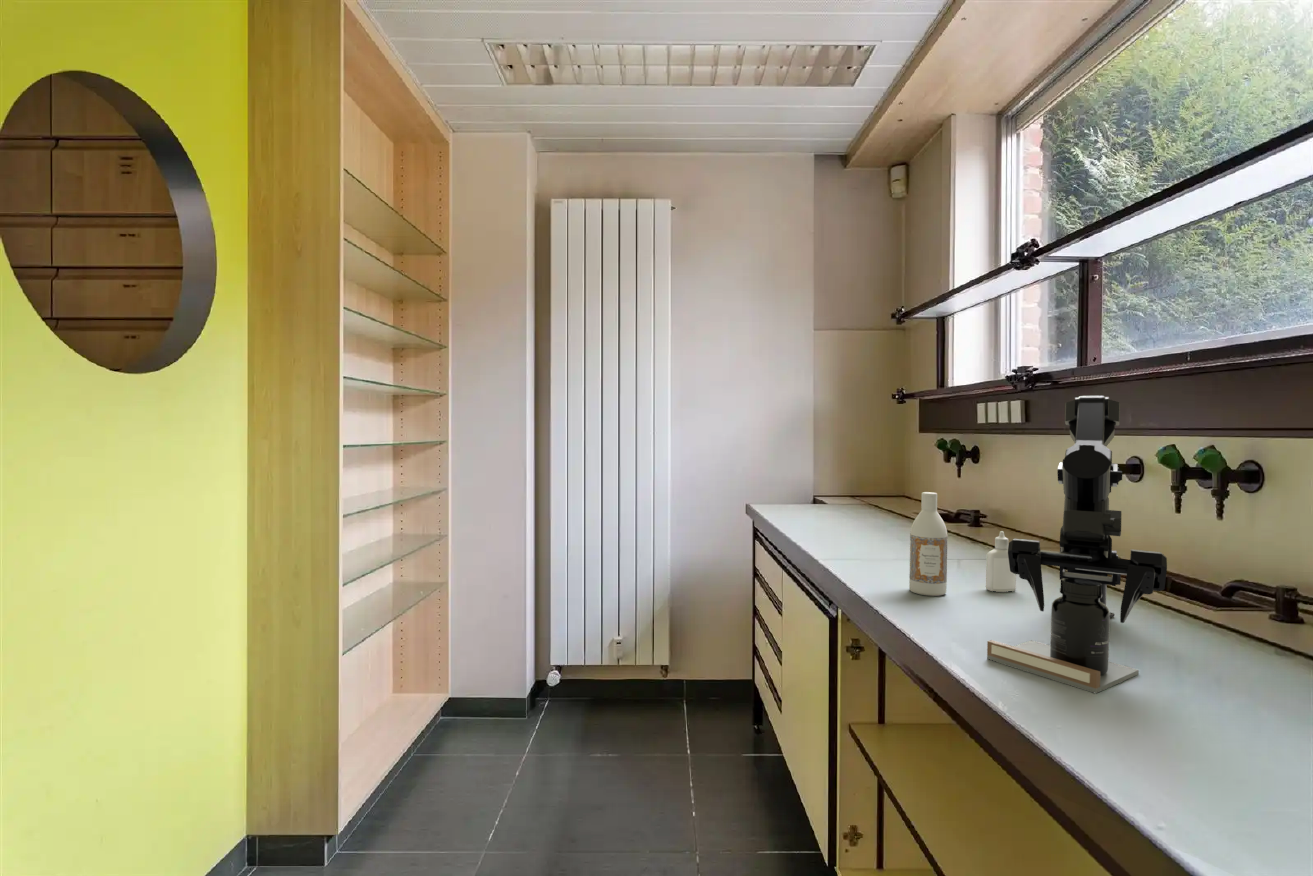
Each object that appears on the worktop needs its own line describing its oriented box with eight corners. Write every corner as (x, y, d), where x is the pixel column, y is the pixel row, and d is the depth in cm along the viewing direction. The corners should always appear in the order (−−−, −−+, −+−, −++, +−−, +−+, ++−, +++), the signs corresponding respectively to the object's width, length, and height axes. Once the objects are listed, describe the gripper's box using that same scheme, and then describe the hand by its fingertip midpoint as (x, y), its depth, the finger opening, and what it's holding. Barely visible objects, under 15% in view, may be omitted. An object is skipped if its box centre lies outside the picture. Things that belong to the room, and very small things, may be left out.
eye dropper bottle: (1017, 594, 134) (1019, 534, 134) (986, 591, 136) (987, 532, 136) (1014, 589, 139) (1015, 530, 138) (984, 586, 141) (985, 529, 140)
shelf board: (1031, 644, 105) (1031, 627, 105) (1138, 674, 92) (1139, 655, 92) (986, 659, 98) (986, 641, 98) (1095, 693, 86) (1095, 673, 86)
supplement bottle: (1111, 681, 88) (1113, 590, 88) (1050, 671, 92) (1052, 583, 91) (1106, 664, 94) (1107, 579, 94) (1049, 656, 98) (1050, 573, 97)
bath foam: (910, 595, 133) (911, 494, 133) (908, 586, 140) (909, 490, 139) (948, 598, 131) (950, 495, 131) (944, 589, 138) (946, 491, 137)
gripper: (1010, 484, 100) (998, 572, 92) (1168, 492, 90) (1172, 592, 81) (1015, 529, 107) (1005, 615, 98) (1162, 542, 97) (1165, 640, 88)
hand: (1080, 615), depth 91 cm, fingers open, 9 cm apart
